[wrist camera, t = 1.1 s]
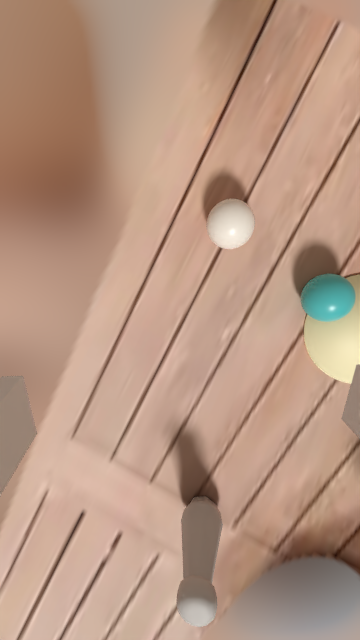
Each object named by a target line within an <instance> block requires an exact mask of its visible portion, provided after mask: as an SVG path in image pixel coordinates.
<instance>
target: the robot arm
mask: <svg viewBox="0 0 360 640" xmlns="http://www.w3.org/2000/svg"><path fill="white" fill-rule="evenodd" d="M342 420H343V421H344V422H345V423H346V424H347V425H348V426H349V428H350V429H351V430H352V431H353V432H354V433H355V434H356V435H357V436H358V437H359V439H360V364H359V365H356V368H355V372H354V375H353V379H352V383H351V386H350V390H349V394H348V397H347V401H346V404H345V408H344V412H343V415H342ZM36 434H37V431H36V427H35V422H34V418H33V415H32V410H31V407H30V402H29V398H28V394H27V390H26V386H25V382H24V377H23V376H7V377H1V378H0V496H1V494H2V492H3V491H4V489H5V487H6V486H7V484H8V482H9V480H10V479H11V477H12V475H13V474H14V472H15V470H16V468H17V467H18V465H19V463H20V461H21V460H22V458H23V457H24V455H25V453H26V451H27V450H28V448H29V446H30V445H31V443H32V441H33V440H34V438H35V436H36Z"/></svg>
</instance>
